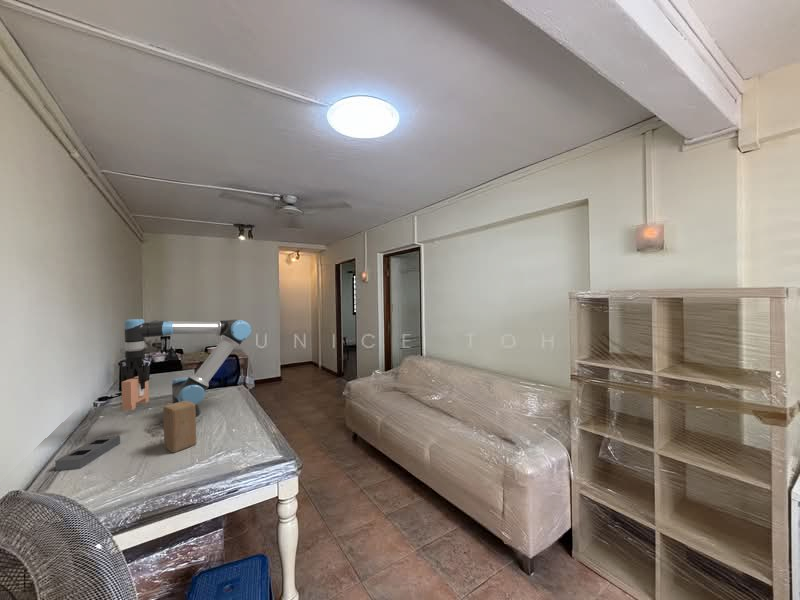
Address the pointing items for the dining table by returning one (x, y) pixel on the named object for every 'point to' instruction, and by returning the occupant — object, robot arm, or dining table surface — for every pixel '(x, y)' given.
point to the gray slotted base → (87, 453)
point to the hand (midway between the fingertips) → (135, 395)
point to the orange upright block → (133, 393)
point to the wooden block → (179, 425)
